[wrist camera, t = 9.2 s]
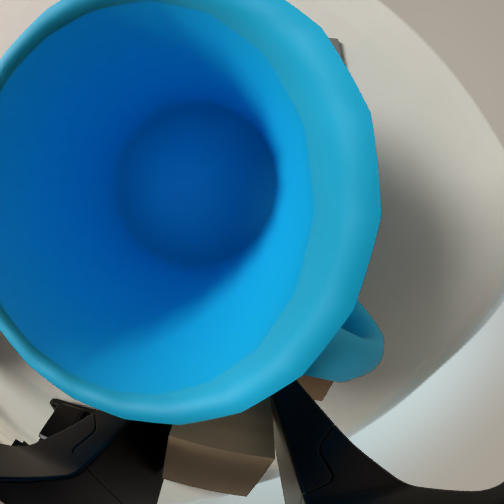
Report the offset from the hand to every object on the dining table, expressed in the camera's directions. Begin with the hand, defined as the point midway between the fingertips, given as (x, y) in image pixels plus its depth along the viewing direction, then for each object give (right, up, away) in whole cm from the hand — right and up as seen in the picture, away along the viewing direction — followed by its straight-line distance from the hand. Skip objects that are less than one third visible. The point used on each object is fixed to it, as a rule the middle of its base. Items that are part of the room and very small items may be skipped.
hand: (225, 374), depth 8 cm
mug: (0, +6, +3) cm, 7 cm away
